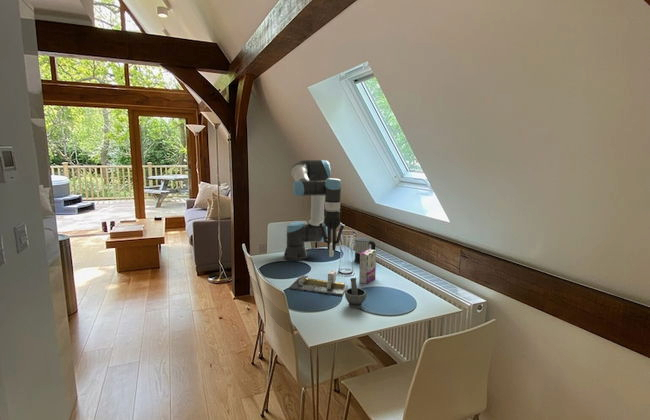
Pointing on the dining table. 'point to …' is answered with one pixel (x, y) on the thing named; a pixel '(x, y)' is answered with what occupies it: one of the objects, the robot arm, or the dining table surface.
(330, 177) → the robot arm
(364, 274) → the candy bar box
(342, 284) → the beam
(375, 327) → the dining table surface
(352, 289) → the mortar and pestle
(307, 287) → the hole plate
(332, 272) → the block
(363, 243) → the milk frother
